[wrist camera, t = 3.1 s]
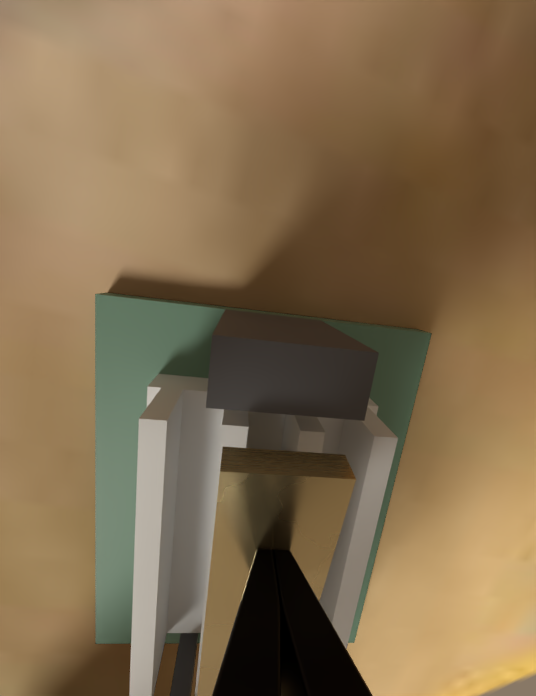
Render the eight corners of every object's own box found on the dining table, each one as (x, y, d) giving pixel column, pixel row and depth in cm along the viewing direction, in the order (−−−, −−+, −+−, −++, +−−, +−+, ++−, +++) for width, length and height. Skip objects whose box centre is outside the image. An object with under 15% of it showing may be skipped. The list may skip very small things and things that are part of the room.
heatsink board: (348, 622, 18) (404, 808, 12) (104, 622, 17) (19, 835, 10) (418, 329, 14) (561, 372, 8) (106, 292, 13) (-30, 309, 6)
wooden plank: (268, 734, 12) (269, 766, 11) (192, 737, 12) (189, 770, 11) (345, 454, 7) (355, 479, 7) (222, 446, 7) (220, 471, 6)
